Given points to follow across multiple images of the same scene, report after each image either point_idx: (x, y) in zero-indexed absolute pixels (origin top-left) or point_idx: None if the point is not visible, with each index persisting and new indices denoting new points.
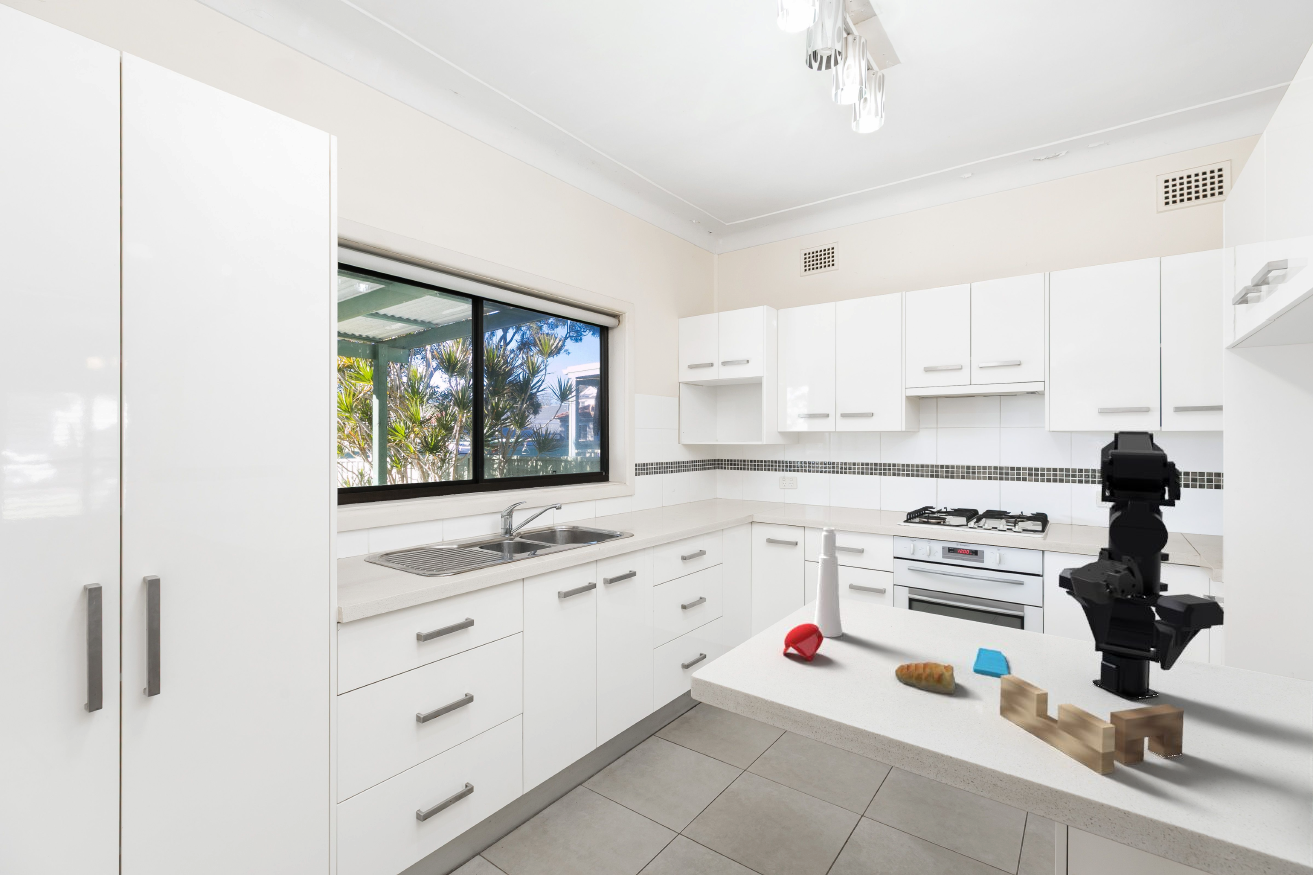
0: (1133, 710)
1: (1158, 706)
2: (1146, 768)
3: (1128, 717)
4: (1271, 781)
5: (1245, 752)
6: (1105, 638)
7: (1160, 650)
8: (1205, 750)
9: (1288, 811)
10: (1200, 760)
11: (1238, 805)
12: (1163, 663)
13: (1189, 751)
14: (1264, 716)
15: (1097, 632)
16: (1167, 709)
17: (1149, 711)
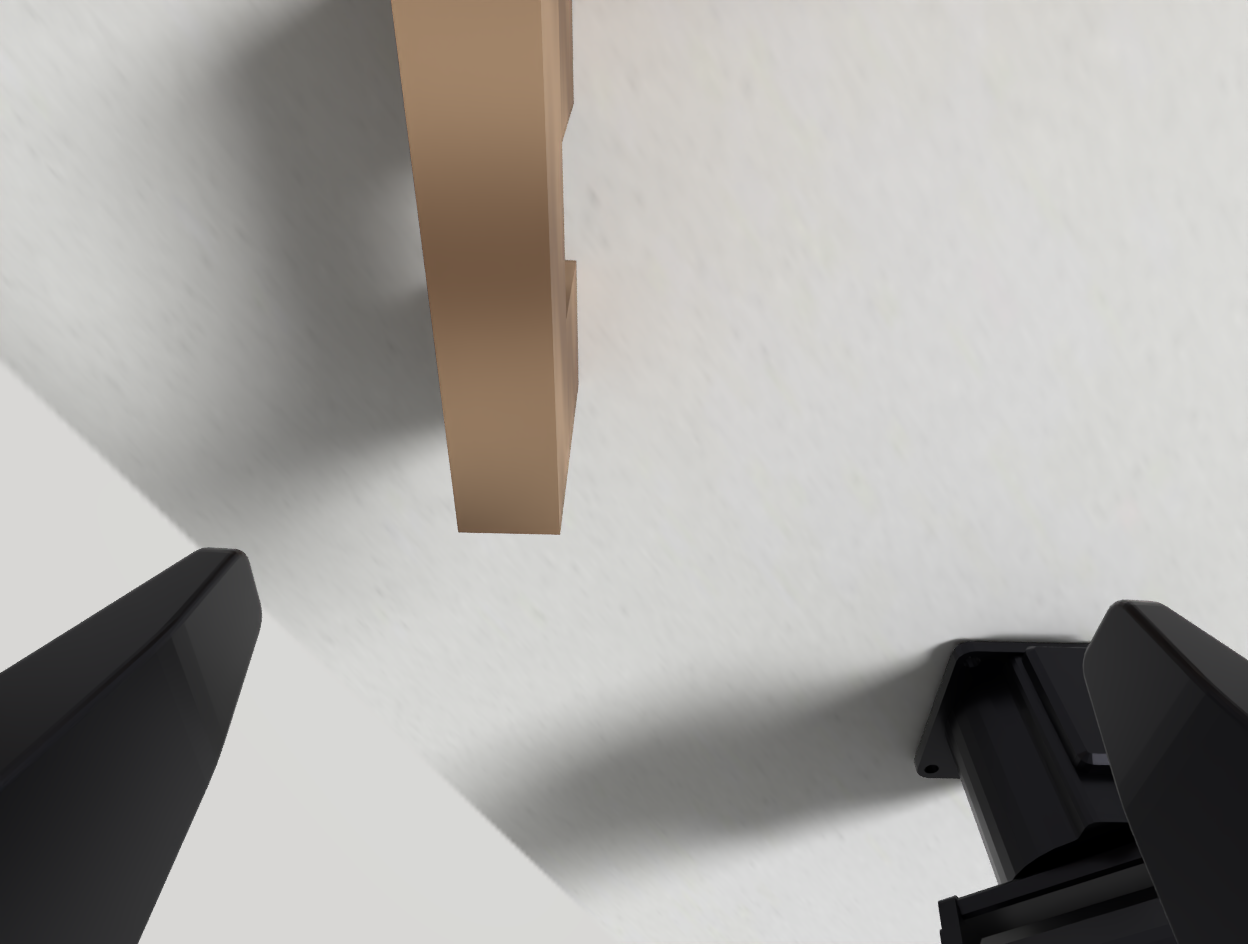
0: (523, 199)
1: (540, 447)
2: None
3: (415, 5)
4: (261, 510)
5: (470, 631)
6: (1101, 733)
7: (35, 722)
8: None
9: (27, 340)
10: None
11: (48, 164)
12: (147, 594)
13: None
14: (658, 882)
15: (1222, 722)
16: (492, 460)
17: (487, 312)
